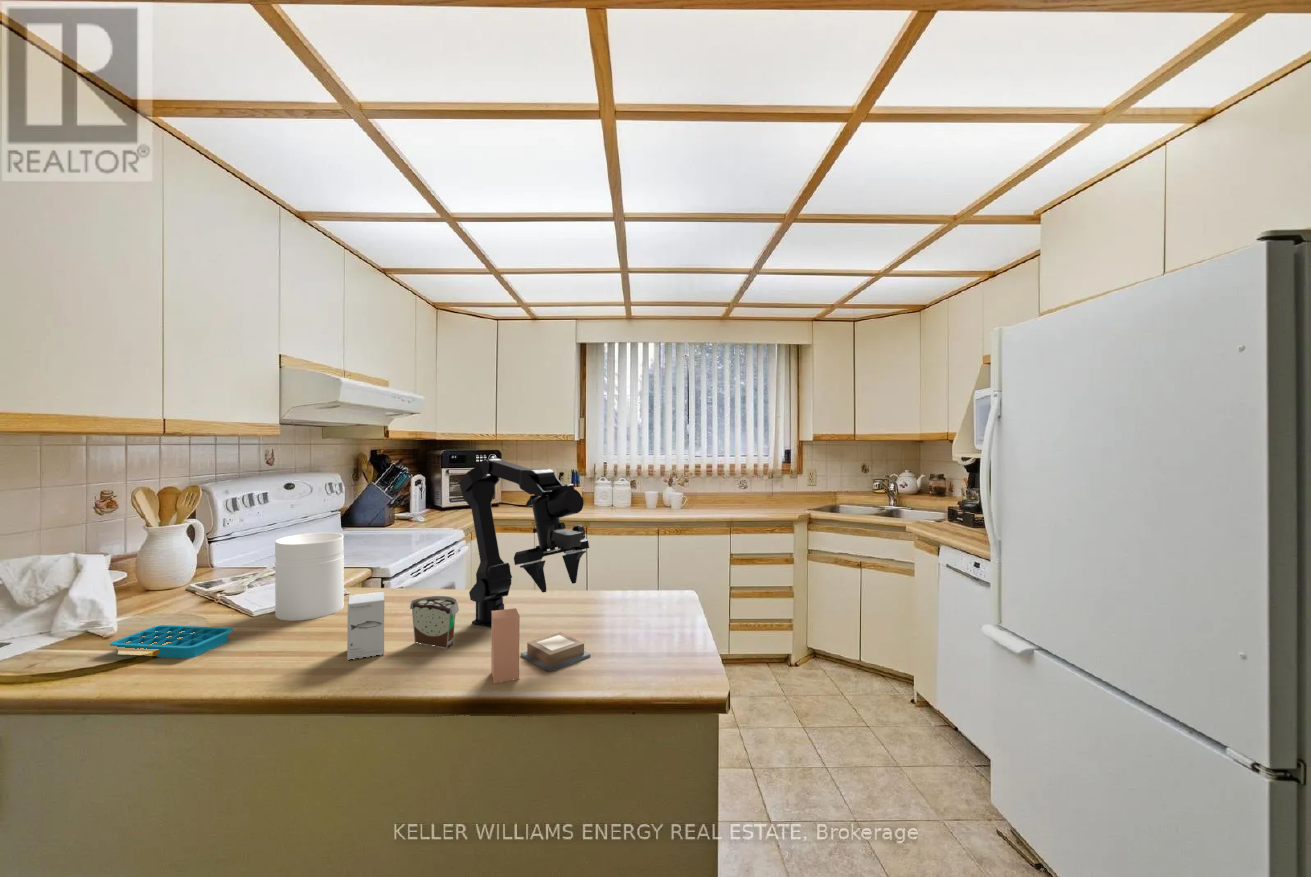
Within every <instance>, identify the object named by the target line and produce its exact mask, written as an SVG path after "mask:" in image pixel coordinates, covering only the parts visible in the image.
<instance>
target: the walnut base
mask: <svg viewBox="0 0 1311 877" xmlns="http://www.w3.org/2000/svg"><path fill="white" fill-rule="evenodd" d="M526 644H527V645H526V646H527V647H526V648H527V649H526V650H527V651H524V652H521V653H520V657H522V658H524V659H525V660H527V661H528V662H530V663H532V664H534V665H536V666H538V667H539V668H541V669H543V670H544V671H547V672H548V673H550V672H552V671H555V670H559V669H561V668H564V667H567V666H569V665H571V664H575V663H578V662H580V661H583V660H585V659H588V658H590V657H591V653H589V652H587V651H586V650H585V642H583V641H580V640H578V639H576V638H574V637H572V636H569V635H567V634H565V633H564V632H561V631H560V632H557V633H553V634H550V635H547V636H544V637H542V638H538V639H535V640H532V641H528V642H527V643H526Z"/></svg>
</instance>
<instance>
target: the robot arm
mask: <svg viewBox="0 0 1311 877" xmlns="http://www.w3.org/2000/svg"><path fill="white" fill-rule="evenodd" d="M501 479H502V480H506V481H509V482H512V483H514V484H516V485H518V487H519V488H520V490H522V491H523V492H525V493H526V494H528V495H530V496H529V499H528V500H527V501H526V503H525V506H526V507H532V512H533V517H534V523H535V528H532V532H533V534H536V535H537V540H538V545H536V546H535V547H533V548H529V549H525V550H521V551H516V552H515V553H514V556H513V562H514V566H518V565H520V566H519V568H520V569H521V568H522V569H524V570H525V571H526V573H527V574H528V575H529V576H530V577H531V579H532V580H533V581H534V582H535V585H537V587H538V588H539V589H540V591H541V593H542V594H543V593H547V583H546V577H545V570H544V567H545V564H546V559H545V560H543V558H544V557H548V556H551V555H552V556H553V555H555V554H560V553H561V554H562V553H564V554H563V555H562V556H561V557H562V560H563V563H564V566H565V569H566V572H567V575H568V577H569V580H570V582H571V584H573V585H574V584H576V583H577V581H578V580H577V578H578V573H579V572H578V571H579V567H580V566H579V564H580V560H581V558H582V557H583V555H584V554H585V553H587V550H586V549H590V544H589V540H588V539H587V538H586V530H585V528H584V525H581V524H578V525H574V526H573V527H572V528H569V529H568V528H567V527H566V524H565V521H562V522H561V520H560V519H561V518H564V517H568V516H572V515H575V514H576V515H577V514H578V513H580V512H581V511H582V510H583V507H584V498H583V496H582V494H581V493H580V491H578V490H577V489H575V487H574V484H573V483H570V484H565V485H564V484H563V483H562V482H561V480H560V479H559V478H558V476H556V474H555V471H554V470H553V469H551V468H528V467H525V466H522V465H519V464H517V463H514V462H513V463H512V462H509V461H506V460H504V459H501V458H486V459H484V460H482V461H481V462H480V463H479V465H477V466H474V467H473V468H472V469H470V470H468V471H467V472H465V474H464V475H463V476H462V478H461V479H460V481H459V488H460V491H461V495H462V498H463V500H464V501H465V502H466V503H467V505H468V506H469V507H470V509H471V514H472V520H473V526H474V531H475V532H474V533H475V538H476V544H477V549H478V554H479V564H478V568H477V569H476V570H477V571H476V573H475V577H476V578H475V580H476V582H475V584H474V585H472V588H471V589H470V590H469V592H468V594H469V599H470V601H472V602H475V619H474V620H472V621H471V624H473V625H479V626H480V625H481V626H484V627H485V626H487V627H492V611H496V610H505V603H504V597H508V596H509V593H510V588H511V585H512V578H513V575H512V573H511V565H510V564H509V562H505V561H503V559H502V558H501V556H500V551H499V545H498V538H497V533H496V527H495V522H494V516H493V510H492V505H491V504H492V501H493V498H494V496H495V494H496V492H495V486H496V485H497V484H498V483H499V482H500V480H501Z"/></svg>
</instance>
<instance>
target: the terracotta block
mask: <svg viewBox="0 0 1311 877" xmlns="http://www.w3.org/2000/svg"><path fill="white" fill-rule="evenodd" d="M520 618H521V617H520V614H519V611H518V609H517V608H516V607H515V608H507V609H505V608H504V610H496V611H492V626H491V644H490V645H491V646H490V647H491V650H490V652H491V657H490V658H491V659H490V660H491V664H490V667H491V670H490V672H491V673H490V674H491V677H493V678H492V681H493V684H498V683H497V682H499V683H502V682H501V681H506V682H511V681H510V680H512V681H517V680H516V679H518V680H520V628H521V627H520V623H521V622H520ZM513 679H515V680H513Z"/></svg>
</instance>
